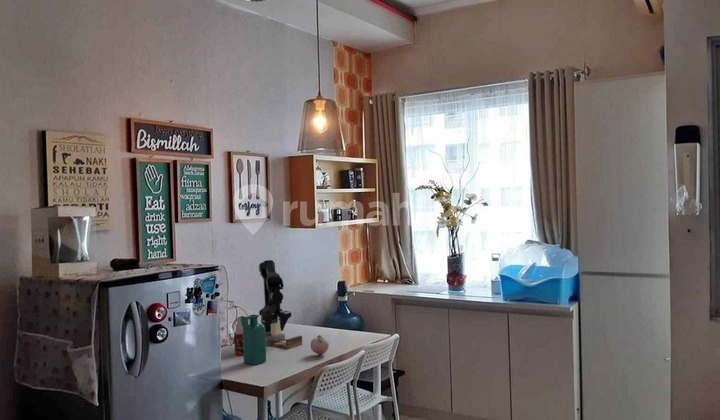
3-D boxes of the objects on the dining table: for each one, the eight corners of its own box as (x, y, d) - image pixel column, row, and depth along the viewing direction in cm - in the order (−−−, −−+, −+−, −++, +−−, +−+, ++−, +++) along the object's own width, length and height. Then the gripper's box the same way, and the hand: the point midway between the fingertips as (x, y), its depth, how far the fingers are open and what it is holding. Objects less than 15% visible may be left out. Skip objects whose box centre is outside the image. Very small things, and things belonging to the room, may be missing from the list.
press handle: (267, 340, 308) (266, 324, 308) (277, 337, 314) (276, 321, 313) (275, 341, 304) (274, 325, 304) (285, 338, 310) (284, 322, 310)
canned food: (231, 354, 289) (230, 332, 288) (242, 350, 296) (241, 328, 296) (244, 356, 285) (243, 333, 285) (254, 352, 292) (253, 330, 292)
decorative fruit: (308, 354, 285) (307, 333, 285) (324, 352, 288) (324, 331, 288) (314, 359, 276) (313, 337, 276) (330, 356, 279) (330, 335, 279)
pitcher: (256, 358, 280) (254, 312, 280) (268, 361, 275) (266, 314, 274) (239, 363, 273) (238, 315, 272) (251, 366, 267) (250, 317, 267)
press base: (258, 343, 310) (258, 334, 310) (272, 339, 318) (272, 331, 318) (288, 349, 296) (288, 340, 296) (302, 344, 304) (301, 335, 304)
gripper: (250, 300, 308) (251, 330, 308) (275, 303, 296) (276, 335, 297) (266, 297, 317) (267, 326, 317) (291, 300, 305) (292, 330, 305)
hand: (275, 329), depth 309 cm, fingers open, 9 cm apart
